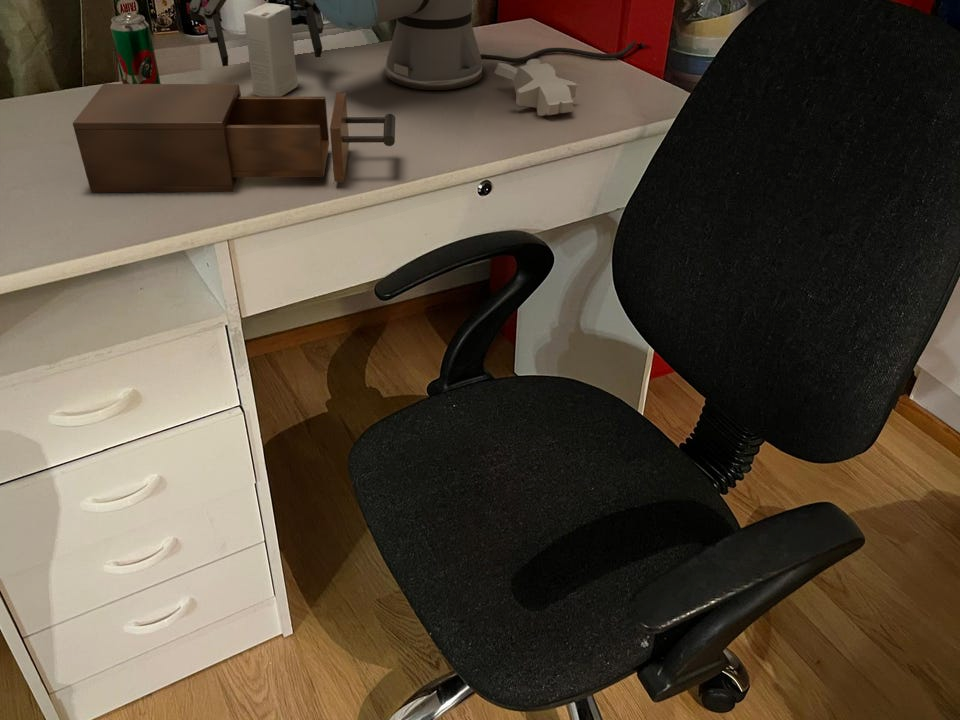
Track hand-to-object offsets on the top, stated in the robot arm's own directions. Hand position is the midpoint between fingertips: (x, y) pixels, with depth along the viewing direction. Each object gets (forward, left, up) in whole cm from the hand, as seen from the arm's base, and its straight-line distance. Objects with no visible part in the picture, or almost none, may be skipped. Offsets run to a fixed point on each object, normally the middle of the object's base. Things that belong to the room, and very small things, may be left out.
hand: (273, 57), depth 126 cm
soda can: (+18, +4, -6) cm, 20 cm away
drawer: (-7, +26, -5) cm, 27 cm away
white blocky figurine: (-39, +3, -6) cm, 39 cm away
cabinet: (+10, +26, -6) cm, 28 cm away
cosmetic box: (0, -1, -6) cm, 6 cm away
